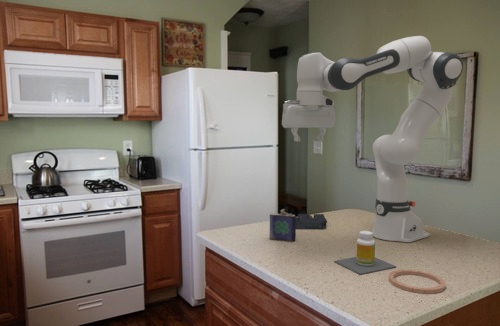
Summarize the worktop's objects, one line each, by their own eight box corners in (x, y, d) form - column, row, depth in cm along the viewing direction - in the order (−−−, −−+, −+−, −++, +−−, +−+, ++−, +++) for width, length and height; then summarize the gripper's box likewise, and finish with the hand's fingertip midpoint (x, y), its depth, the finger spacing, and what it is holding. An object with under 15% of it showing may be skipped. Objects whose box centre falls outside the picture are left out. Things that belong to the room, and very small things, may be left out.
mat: (368, 255, 133) (368, 254, 133) (396, 267, 122) (396, 266, 122) (334, 262, 127) (334, 260, 127) (360, 274, 116) (360, 273, 116)
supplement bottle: (375, 267, 121) (376, 235, 120) (356, 265, 122) (357, 234, 121) (373, 261, 126) (374, 230, 125) (355, 259, 128) (356, 229, 127)
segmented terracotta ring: (414, 270, 120) (414, 266, 120) (457, 287, 107) (457, 283, 107) (377, 277, 114) (377, 274, 114) (418, 297, 101) (419, 293, 101)
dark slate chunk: (273, 221, 181) (273, 211, 180) (322, 221, 180) (323, 211, 180) (275, 230, 165) (275, 219, 165) (329, 230, 165) (329, 219, 165)
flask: (268, 239, 151) (269, 209, 150) (270, 237, 154) (271, 207, 153) (294, 242, 148) (295, 211, 147) (296, 240, 151) (297, 209, 149)
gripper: (288, 99, 131) (287, 142, 132) (338, 101, 140) (337, 141, 141) (278, 100, 137) (278, 141, 138) (327, 102, 146) (326, 140, 147)
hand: (308, 141), depth 140 cm, fingers open, 8 cm apart
